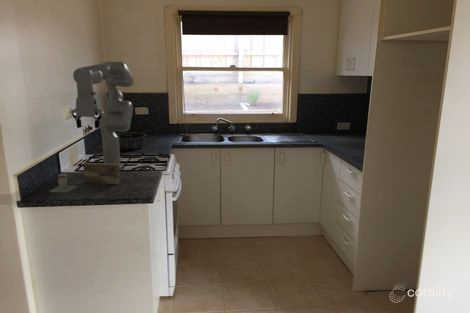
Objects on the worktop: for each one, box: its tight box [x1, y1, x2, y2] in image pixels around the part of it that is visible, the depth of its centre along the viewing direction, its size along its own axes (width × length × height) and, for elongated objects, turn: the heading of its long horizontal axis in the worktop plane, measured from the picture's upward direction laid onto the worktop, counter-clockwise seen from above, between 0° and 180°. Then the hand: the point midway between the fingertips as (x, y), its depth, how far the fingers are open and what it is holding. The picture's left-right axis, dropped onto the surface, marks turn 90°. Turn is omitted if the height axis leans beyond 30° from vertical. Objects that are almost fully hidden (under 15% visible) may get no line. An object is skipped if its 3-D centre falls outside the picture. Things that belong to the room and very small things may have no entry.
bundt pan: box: [116, 132, 147, 151], centre depth 279 cm, size 26×26×10 cm
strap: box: [100, 168, 115, 176], centre depth 180 cm, size 11×2×1 cm, turn 173°
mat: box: [49, 185, 78, 194], centre depth 178 cm, size 9×9×1 cm
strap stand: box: [82, 162, 121, 185], centre depth 189 cm, size 3×18×10 cm, turn 83°
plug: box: [57, 173, 69, 190], centre depth 177 cm, size 4×4×7 cm
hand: (88, 127), depth 187 cm, fingers open, 9 cm apart
